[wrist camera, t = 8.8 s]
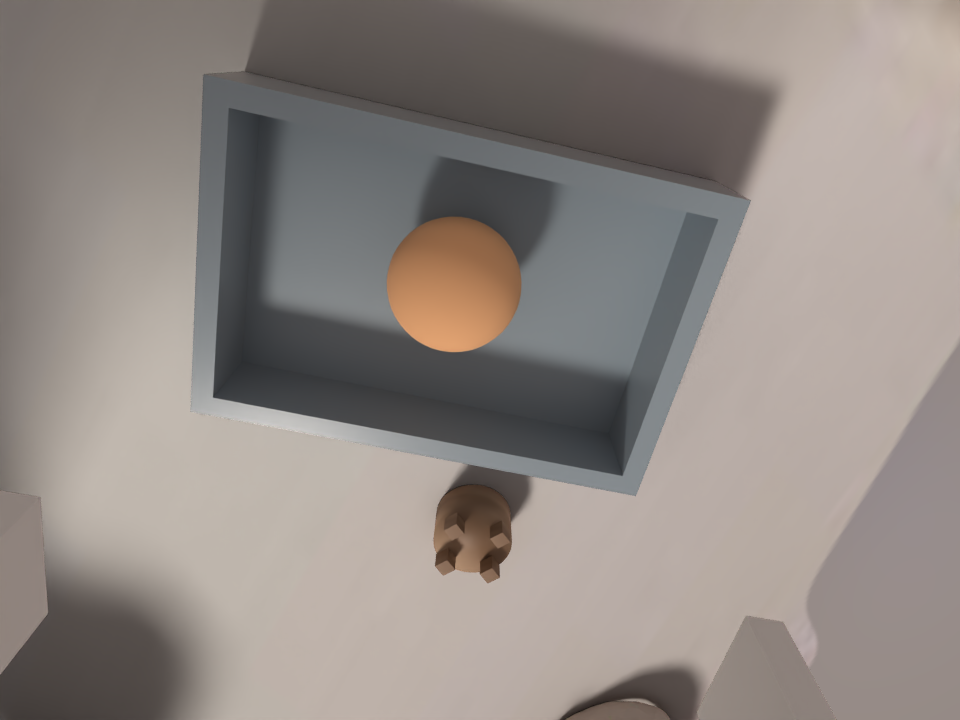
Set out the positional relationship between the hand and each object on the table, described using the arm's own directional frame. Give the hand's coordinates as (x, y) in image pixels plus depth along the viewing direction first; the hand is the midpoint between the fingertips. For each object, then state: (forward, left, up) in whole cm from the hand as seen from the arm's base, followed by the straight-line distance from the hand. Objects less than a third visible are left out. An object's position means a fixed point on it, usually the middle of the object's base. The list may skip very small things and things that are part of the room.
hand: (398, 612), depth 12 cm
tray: (0, -1, -22) cm, 22 cm away
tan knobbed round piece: (+4, -15, -22) cm, 27 cm away
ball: (0, 0, -22) cm, 22 cm away
